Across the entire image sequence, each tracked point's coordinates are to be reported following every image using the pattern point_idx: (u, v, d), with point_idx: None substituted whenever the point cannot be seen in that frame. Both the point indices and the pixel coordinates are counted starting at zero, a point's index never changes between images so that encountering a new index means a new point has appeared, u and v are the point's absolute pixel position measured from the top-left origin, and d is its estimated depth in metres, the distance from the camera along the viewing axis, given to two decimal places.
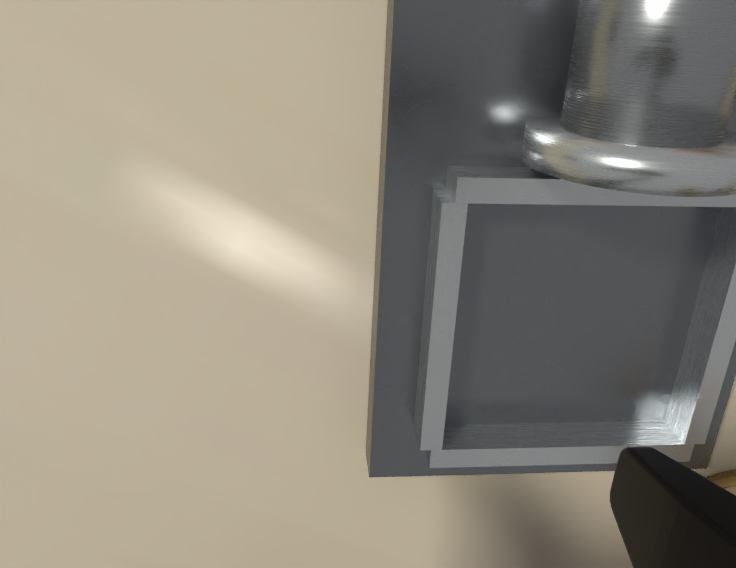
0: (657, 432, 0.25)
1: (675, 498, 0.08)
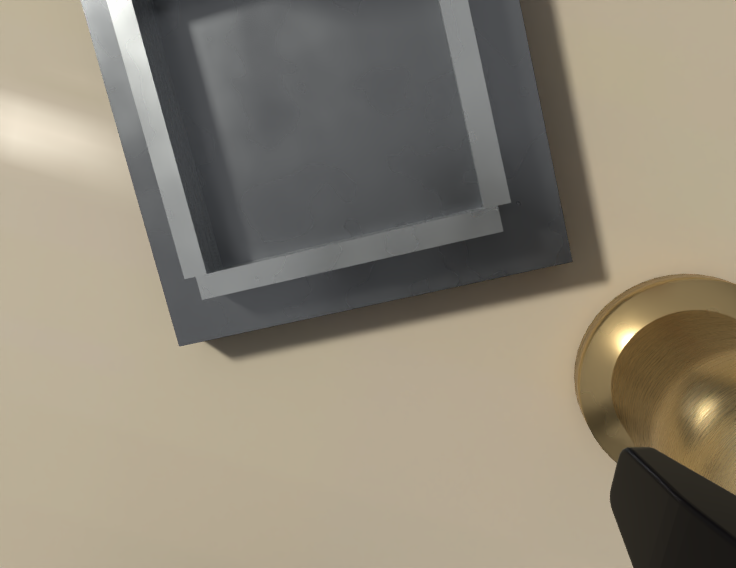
0: (463, 212, 0.21)
1: (675, 498, 0.08)
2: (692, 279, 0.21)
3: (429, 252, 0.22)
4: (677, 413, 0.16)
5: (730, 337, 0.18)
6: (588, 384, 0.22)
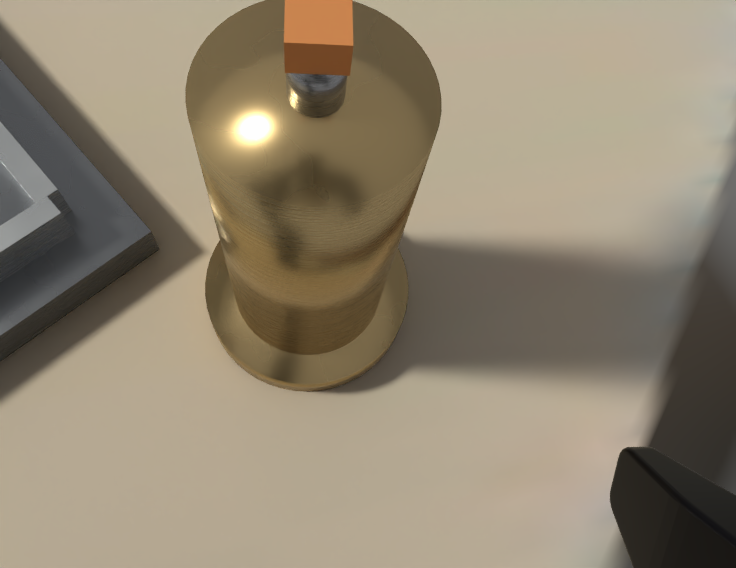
0: None
1: (675, 498, 0.08)
2: None
3: (17, 281, 0.22)
4: None
5: None
6: (222, 326, 0.23)
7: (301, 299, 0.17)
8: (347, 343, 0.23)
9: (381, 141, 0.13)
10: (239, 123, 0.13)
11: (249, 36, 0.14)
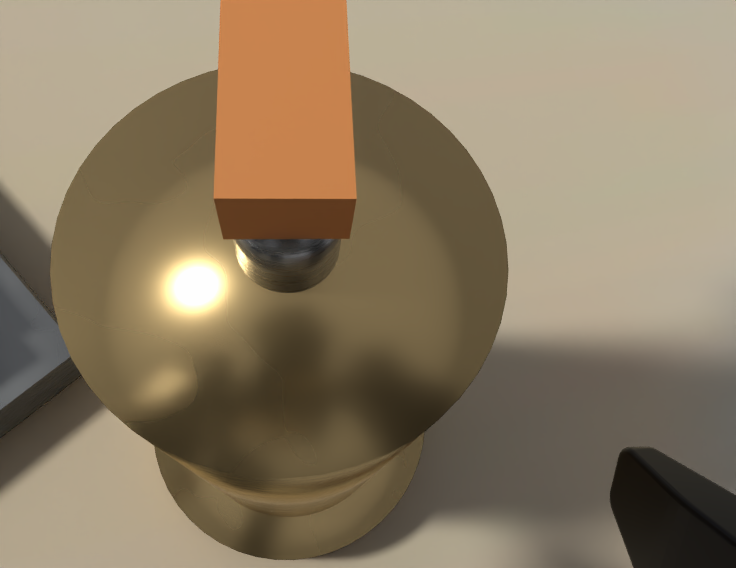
0: None
1: (675, 498, 0.08)
2: None
3: None
4: None
5: None
6: (176, 481, 0.17)
7: (277, 505, 0.11)
8: (346, 498, 0.17)
9: (406, 334, 0.07)
10: (148, 312, 0.07)
11: (170, 141, 0.08)
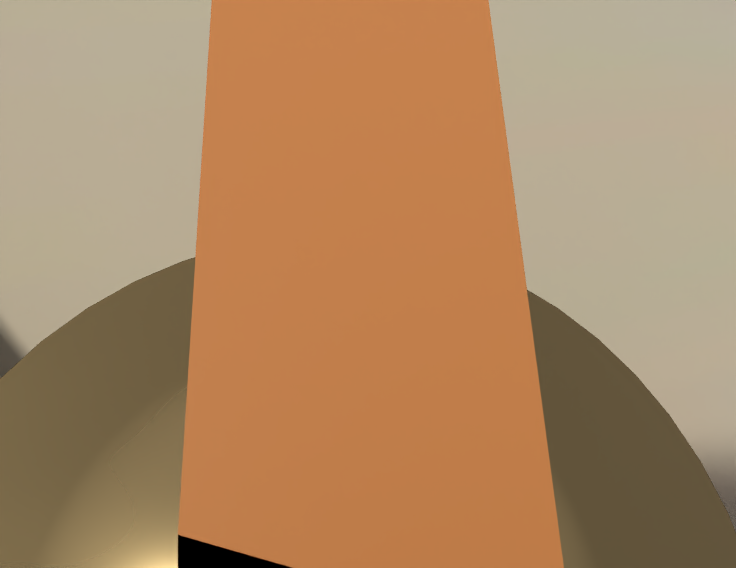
0: None
1: None
2: None
3: None
4: None
5: None
6: None
7: None
8: None
9: None
10: None
11: (106, 415, 0.04)
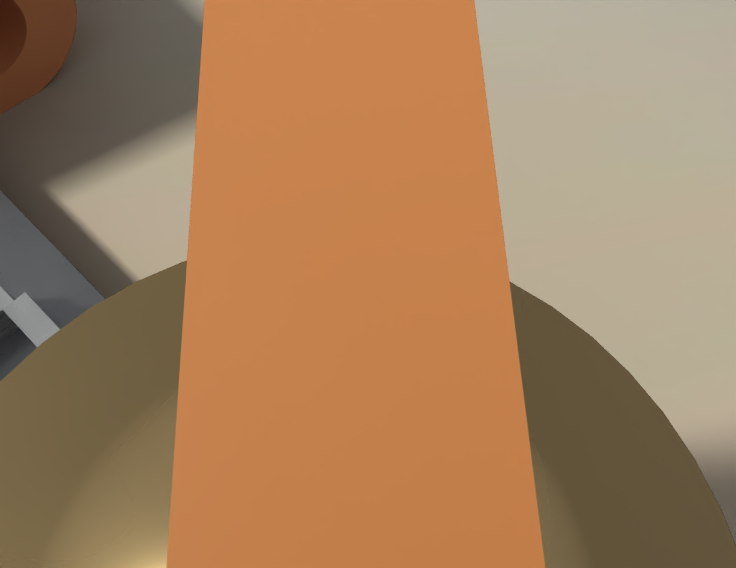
0: None
1: None
2: None
3: None
4: None
5: None
6: None
7: None
8: None
9: None
10: None
11: (107, 414, 0.04)
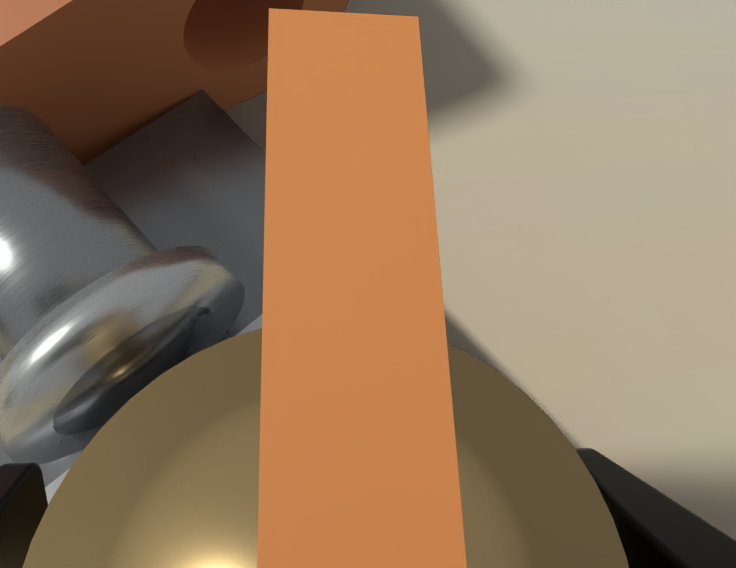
0: None
1: (607, 501, 0.08)
2: None
3: None
4: None
5: None
6: None
7: None
8: None
9: None
10: None
11: (177, 451, 0.06)
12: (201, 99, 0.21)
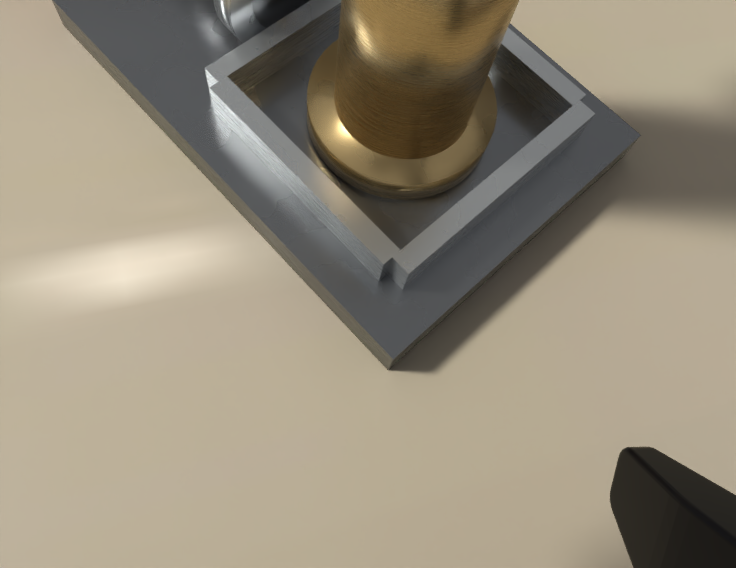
0: None
1: (675, 498, 0.08)
2: None
3: (545, 175, 0.26)
4: None
5: None
6: (326, 135, 0.24)
7: (430, 55, 0.19)
8: (445, 148, 0.24)
9: None
10: None
11: None
12: None
